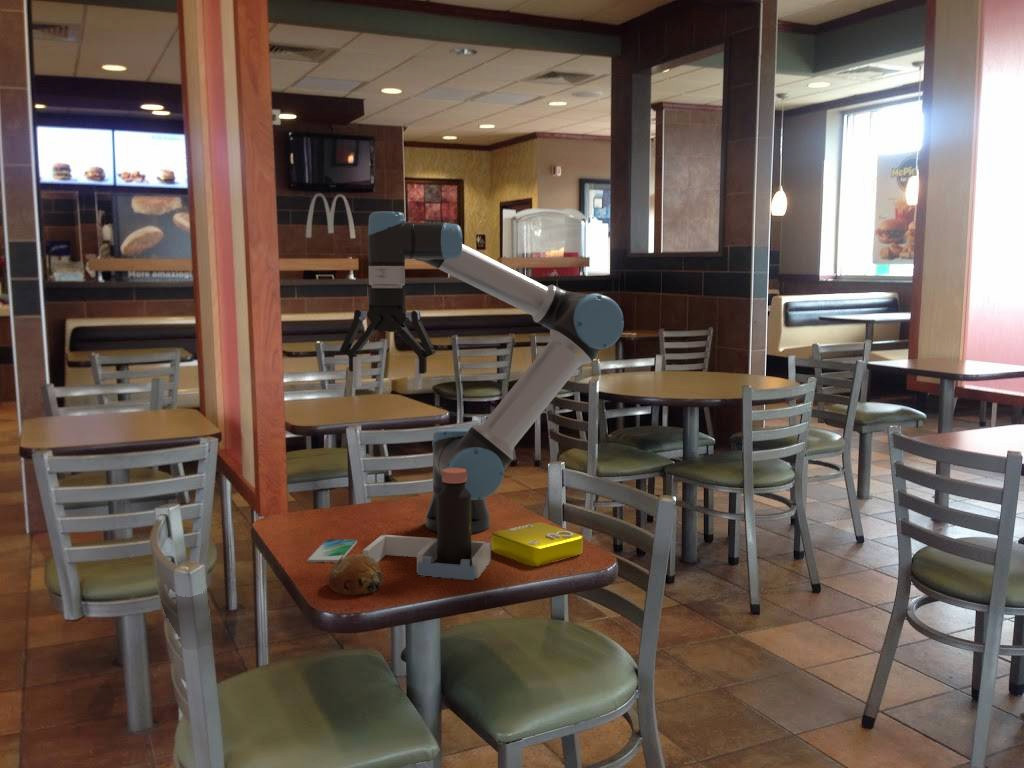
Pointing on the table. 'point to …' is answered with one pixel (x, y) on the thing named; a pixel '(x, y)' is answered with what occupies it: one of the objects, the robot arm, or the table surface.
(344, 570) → the bread roll
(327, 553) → the smartphone
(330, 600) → the table surface
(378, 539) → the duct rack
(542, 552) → the element tile
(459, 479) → the vinegar
